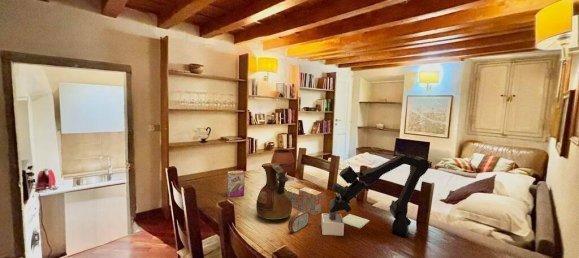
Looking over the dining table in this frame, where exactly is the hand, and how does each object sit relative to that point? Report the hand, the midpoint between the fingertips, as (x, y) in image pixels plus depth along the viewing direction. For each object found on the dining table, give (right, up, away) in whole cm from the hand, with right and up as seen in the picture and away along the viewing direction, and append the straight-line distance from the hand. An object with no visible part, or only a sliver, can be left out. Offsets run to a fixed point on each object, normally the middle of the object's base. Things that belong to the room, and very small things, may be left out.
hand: (329, 210), depth 127 cm
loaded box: (+1, -10, +1) cm, 10 cm away
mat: (+15, -9, +11) cm, 21 cm away
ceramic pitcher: (-29, -8, +15) cm, 33 cm away
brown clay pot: (-26, -2, +84) cm, 88 cm away
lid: (+1, -5, 0) cm, 5 cm away
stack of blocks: (-12, -8, +27) cm, 30 cm away
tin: (-15, -10, +1) cm, 18 cm away
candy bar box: (-56, -5, +46) cm, 73 cm away
